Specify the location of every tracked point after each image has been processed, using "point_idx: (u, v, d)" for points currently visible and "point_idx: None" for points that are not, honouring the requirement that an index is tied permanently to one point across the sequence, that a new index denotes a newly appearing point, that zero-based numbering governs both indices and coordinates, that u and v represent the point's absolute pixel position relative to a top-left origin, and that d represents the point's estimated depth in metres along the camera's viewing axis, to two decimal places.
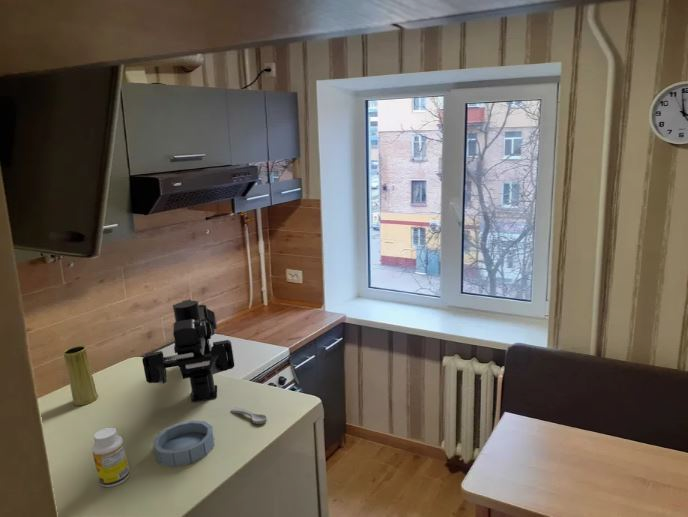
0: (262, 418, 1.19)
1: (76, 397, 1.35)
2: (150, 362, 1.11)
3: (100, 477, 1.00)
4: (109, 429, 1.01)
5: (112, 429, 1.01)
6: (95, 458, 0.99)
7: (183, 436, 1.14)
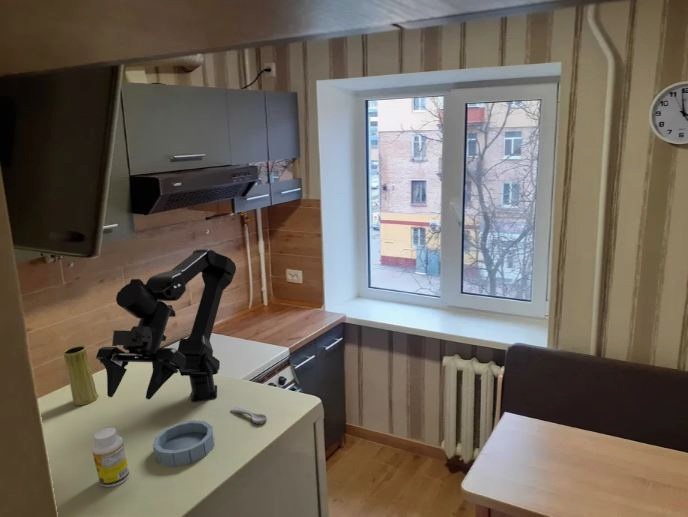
0: (262, 418, 1.19)
1: (76, 397, 1.35)
2: (102, 363, 1.11)
3: (100, 477, 1.00)
4: (109, 429, 1.01)
5: (112, 429, 1.01)
6: (95, 458, 0.99)
7: (183, 436, 1.14)
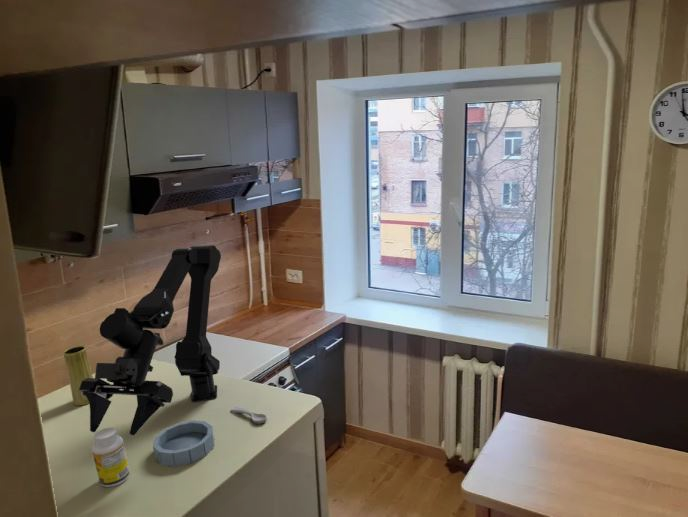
0: (262, 418, 1.19)
1: (76, 397, 1.35)
2: (85, 396, 1.06)
3: (100, 477, 1.00)
4: (109, 429, 1.01)
5: (112, 429, 1.01)
6: (95, 458, 0.99)
7: (183, 436, 1.14)
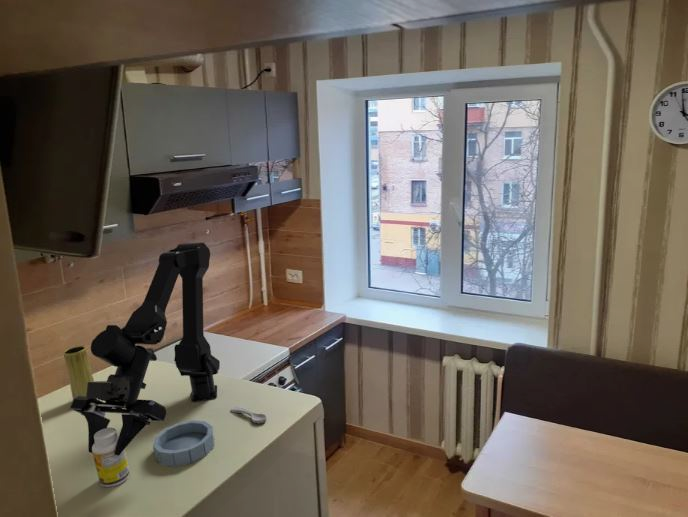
0: (262, 417, 1.19)
1: None
2: (83, 415, 1.03)
3: (100, 477, 1.00)
4: (109, 429, 1.01)
5: (112, 429, 1.01)
6: (95, 458, 0.99)
7: (183, 436, 1.14)
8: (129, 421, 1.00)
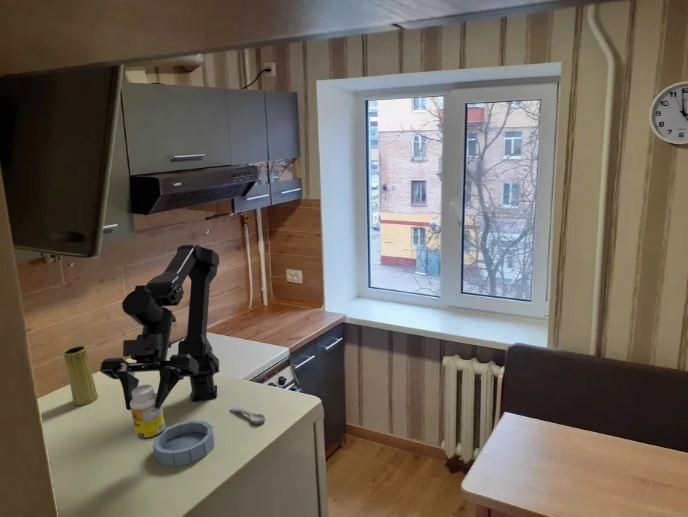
0: (260, 418, 1.19)
1: (76, 397, 1.35)
2: (115, 375, 1.05)
3: (140, 432, 1.02)
4: (145, 386, 1.04)
5: (148, 385, 1.04)
6: (135, 414, 1.02)
7: (183, 436, 1.14)
8: (167, 375, 1.03)
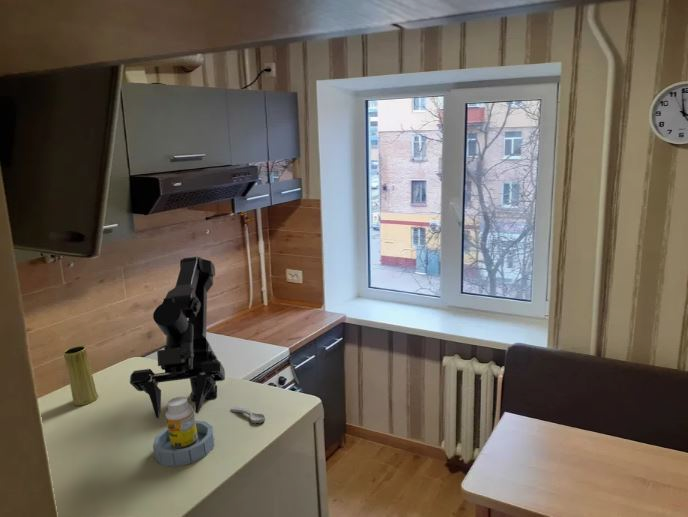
0: (260, 417, 1.19)
1: (76, 397, 1.35)
2: (141, 386, 1.09)
3: (177, 442, 1.08)
4: (178, 398, 1.10)
5: (181, 397, 1.10)
6: (173, 424, 1.07)
7: None
8: (204, 381, 1.09)
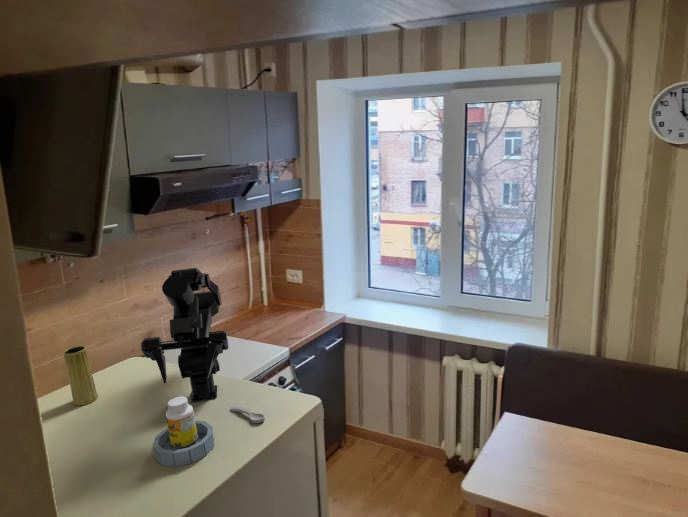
0: (260, 417, 1.20)
1: (76, 397, 1.35)
2: (149, 353, 1.16)
3: (177, 442, 1.08)
4: (178, 398, 1.10)
5: (182, 397, 1.10)
6: (173, 424, 1.07)
7: None
8: (215, 348, 1.18)
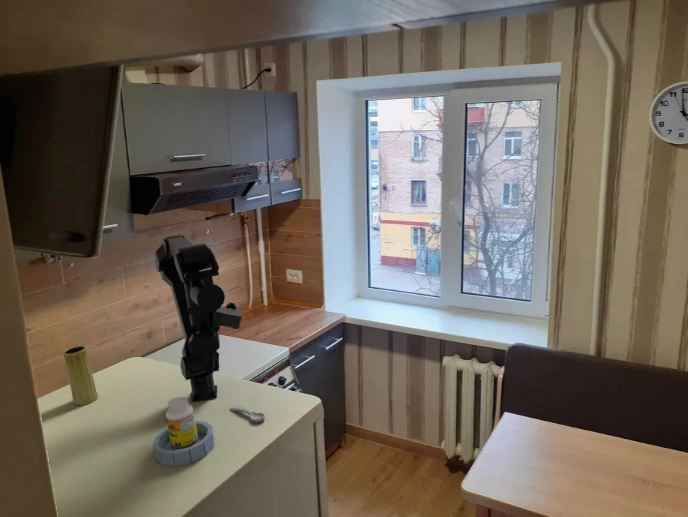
0: (260, 416, 1.20)
1: (76, 397, 1.35)
2: None
3: (177, 442, 1.08)
4: (178, 398, 1.10)
5: (182, 397, 1.10)
6: (173, 424, 1.07)
7: None
8: None
